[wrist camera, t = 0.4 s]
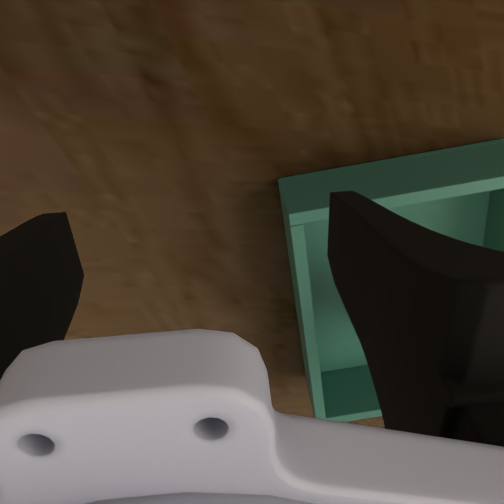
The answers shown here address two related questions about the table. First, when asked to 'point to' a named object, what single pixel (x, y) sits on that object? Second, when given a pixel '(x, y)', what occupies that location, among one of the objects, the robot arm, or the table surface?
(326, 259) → the tray
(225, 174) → the table surface
